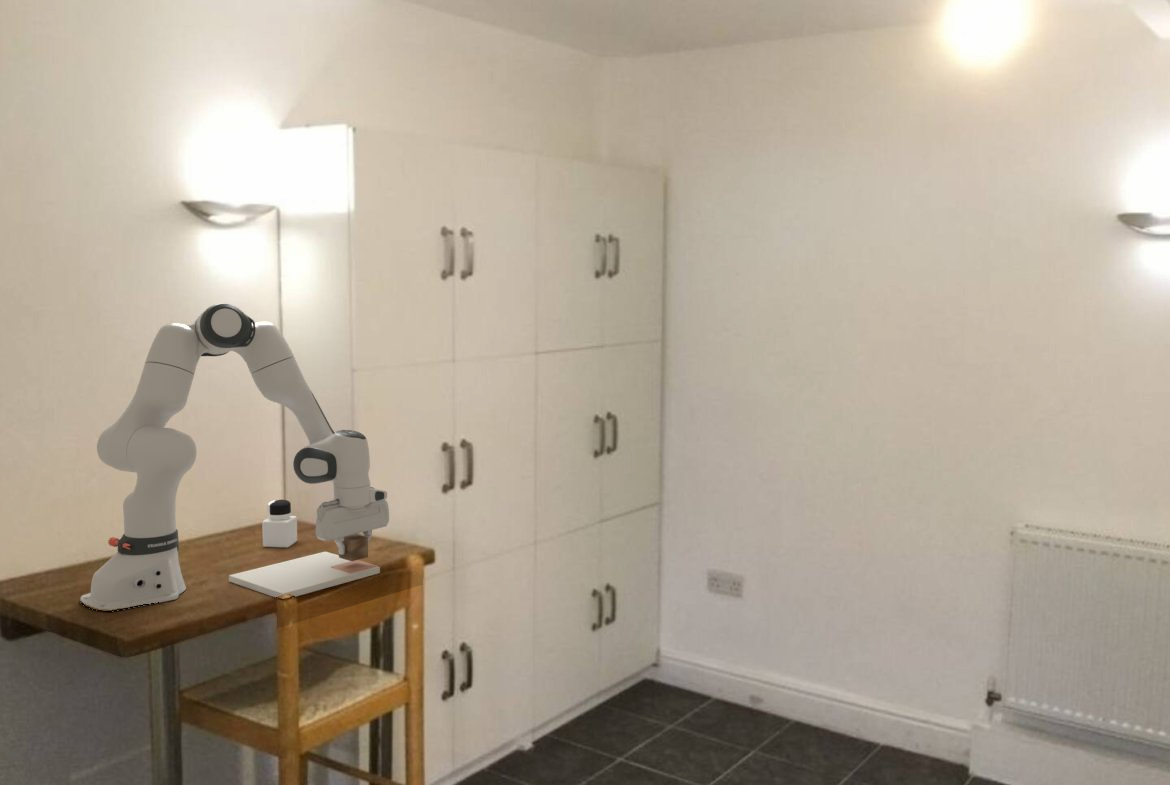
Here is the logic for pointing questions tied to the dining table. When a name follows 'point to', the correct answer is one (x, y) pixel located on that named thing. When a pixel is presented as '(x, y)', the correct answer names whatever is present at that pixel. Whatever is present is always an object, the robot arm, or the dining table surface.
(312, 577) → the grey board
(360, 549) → the walnut cube
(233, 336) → the robot arm
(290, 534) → the medicine bottle
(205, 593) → the dining table surface
